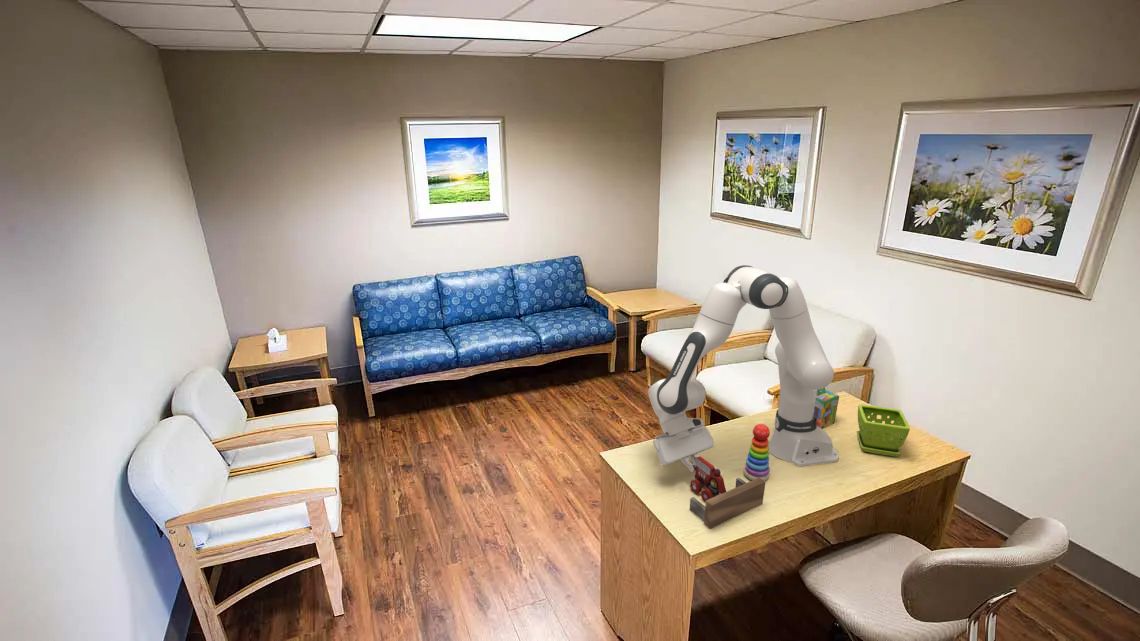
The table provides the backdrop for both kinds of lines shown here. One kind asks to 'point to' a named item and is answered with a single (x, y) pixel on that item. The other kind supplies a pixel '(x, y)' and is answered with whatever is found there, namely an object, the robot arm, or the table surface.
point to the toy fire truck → (707, 480)
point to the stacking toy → (758, 454)
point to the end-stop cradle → (730, 502)
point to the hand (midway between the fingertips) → (695, 470)
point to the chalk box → (826, 406)
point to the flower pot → (881, 430)
